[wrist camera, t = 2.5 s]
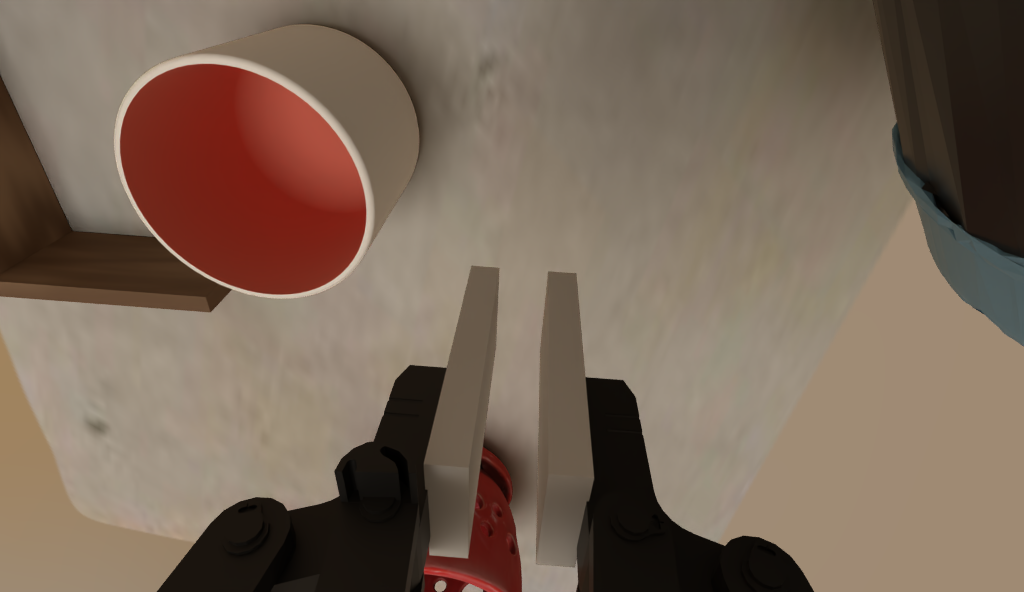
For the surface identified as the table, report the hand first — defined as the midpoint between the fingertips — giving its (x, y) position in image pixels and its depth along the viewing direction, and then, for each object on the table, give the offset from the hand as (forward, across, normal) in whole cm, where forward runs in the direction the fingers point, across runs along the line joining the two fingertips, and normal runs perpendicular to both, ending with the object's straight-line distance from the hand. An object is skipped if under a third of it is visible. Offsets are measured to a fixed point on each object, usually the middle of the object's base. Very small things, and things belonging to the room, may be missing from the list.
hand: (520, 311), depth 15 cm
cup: (+17, -11, 0) cm, 20 cm away
